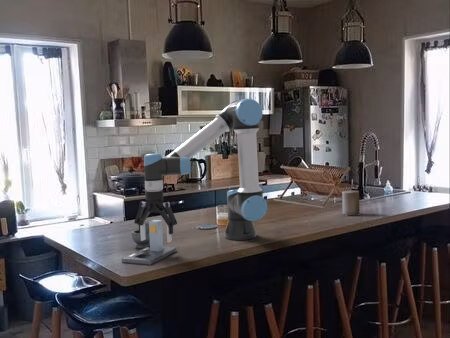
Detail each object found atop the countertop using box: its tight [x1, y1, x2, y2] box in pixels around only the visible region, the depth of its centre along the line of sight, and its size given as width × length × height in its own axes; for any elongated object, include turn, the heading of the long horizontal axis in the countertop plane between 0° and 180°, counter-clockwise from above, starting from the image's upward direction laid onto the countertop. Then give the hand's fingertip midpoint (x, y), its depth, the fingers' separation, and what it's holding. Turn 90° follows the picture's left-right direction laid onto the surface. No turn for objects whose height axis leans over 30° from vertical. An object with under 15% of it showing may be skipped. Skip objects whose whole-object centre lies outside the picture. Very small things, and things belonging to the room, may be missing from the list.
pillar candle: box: [341, 189, 361, 216], centre depth 282 cm, size 10×10×15 cm
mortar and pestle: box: [131, 220, 150, 249], centre depth 219 cm, size 11×9×12 cm
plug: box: [149, 219, 164, 252], centre depth 205 cm, size 4×5×14 cm
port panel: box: [121, 246, 177, 266], centre depth 201 cm, size 22×13×2 cm, turn 158°
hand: (156, 240), depth 205 cm, fingers open, 12 cm apart
